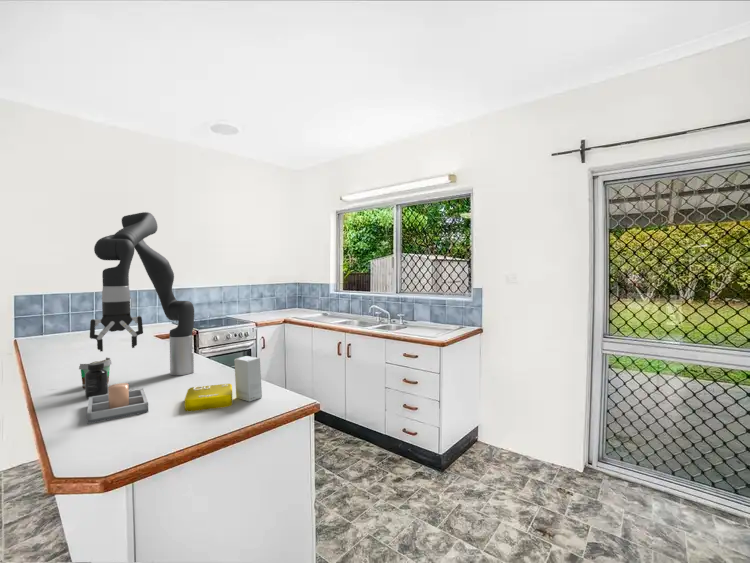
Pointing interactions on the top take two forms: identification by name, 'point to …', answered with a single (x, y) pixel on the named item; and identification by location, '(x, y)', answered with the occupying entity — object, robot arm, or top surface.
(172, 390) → the top surface
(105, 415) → the rack
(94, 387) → the supplement bottle
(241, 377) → the skincare box
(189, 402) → the element tile
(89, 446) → the top surface
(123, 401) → the peach rounded capsule
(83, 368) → the food container
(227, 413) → the top surface
